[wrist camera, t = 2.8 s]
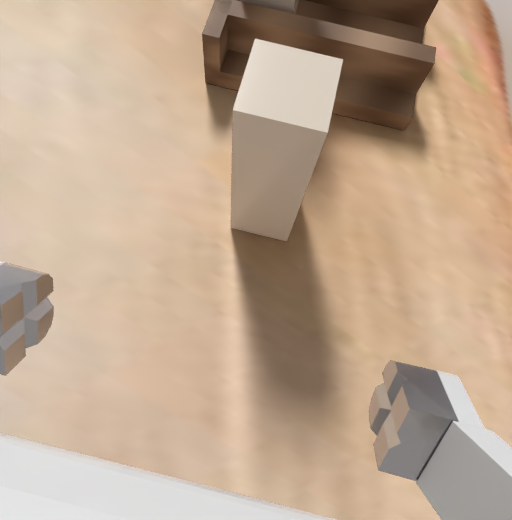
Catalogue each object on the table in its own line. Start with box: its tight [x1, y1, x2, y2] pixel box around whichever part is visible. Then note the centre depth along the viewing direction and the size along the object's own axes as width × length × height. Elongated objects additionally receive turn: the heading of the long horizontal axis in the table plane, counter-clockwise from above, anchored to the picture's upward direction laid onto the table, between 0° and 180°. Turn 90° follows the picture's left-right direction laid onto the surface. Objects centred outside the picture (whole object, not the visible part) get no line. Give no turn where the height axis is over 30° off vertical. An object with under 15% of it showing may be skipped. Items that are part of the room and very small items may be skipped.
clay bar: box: [231, 39, 343, 242], centre depth 23 cm, size 4×4×12 cm
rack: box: [202, 0, 438, 130], centre depth 32 cm, size 16×13×4 cm
